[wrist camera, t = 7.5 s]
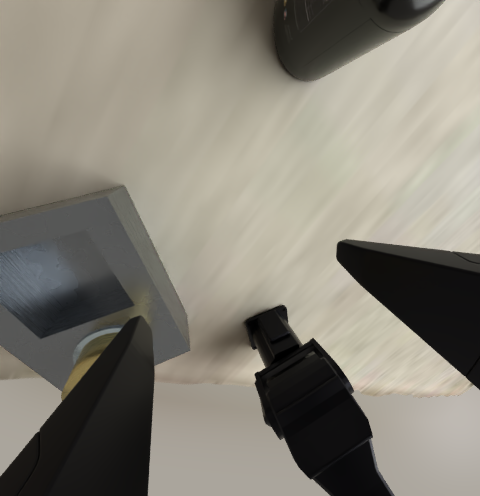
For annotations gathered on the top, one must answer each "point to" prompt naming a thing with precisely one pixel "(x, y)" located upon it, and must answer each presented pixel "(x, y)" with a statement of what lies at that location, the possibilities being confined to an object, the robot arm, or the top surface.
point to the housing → (82, 282)
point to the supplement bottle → (340, 30)
